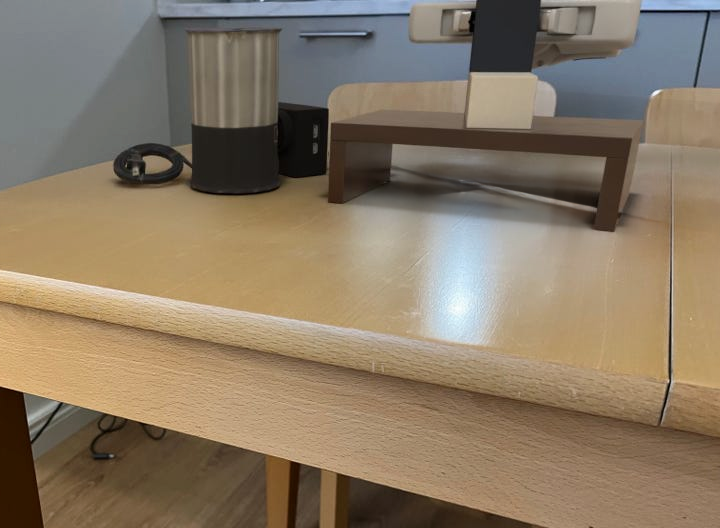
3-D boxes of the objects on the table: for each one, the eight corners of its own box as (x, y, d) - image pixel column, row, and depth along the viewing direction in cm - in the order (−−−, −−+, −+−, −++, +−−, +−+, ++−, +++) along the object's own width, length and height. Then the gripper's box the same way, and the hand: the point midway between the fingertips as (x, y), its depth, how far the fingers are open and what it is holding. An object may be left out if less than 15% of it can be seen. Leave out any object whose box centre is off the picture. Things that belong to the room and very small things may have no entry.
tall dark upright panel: (464, 114, 71) (483, -67, 65) (519, 115, 70) (544, -69, 64) (466, 128, 61) (489, -84, 55) (530, 129, 60) (561, -87, 54)
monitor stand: (376, 179, 79) (381, 109, 76) (627, 200, 68) (643, 120, 65) (327, 202, 69) (330, 122, 66) (614, 231, 58) (632, 137, 55)
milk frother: (295, 191, 73) (298, 25, 67) (137, 204, 69) (125, 27, 63) (245, 169, 86) (244, 27, 80) (107, 178, 81) (95, 28, 75)
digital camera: (235, 165, 88) (235, 103, 85) (274, 161, 90) (275, 100, 87) (285, 179, 80) (286, 110, 77) (326, 174, 82) (329, 107, 79)
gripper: (433, -10, 79) (389, -16, 68) (651, -17, 69) (641, -25, 58) (427, 55, 81) (384, 59, 70) (637, 57, 72) (625, 62, 61)
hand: (503, 21), depth 64 cm, fingers closed on tall dark upright panel, 5 cm apart
